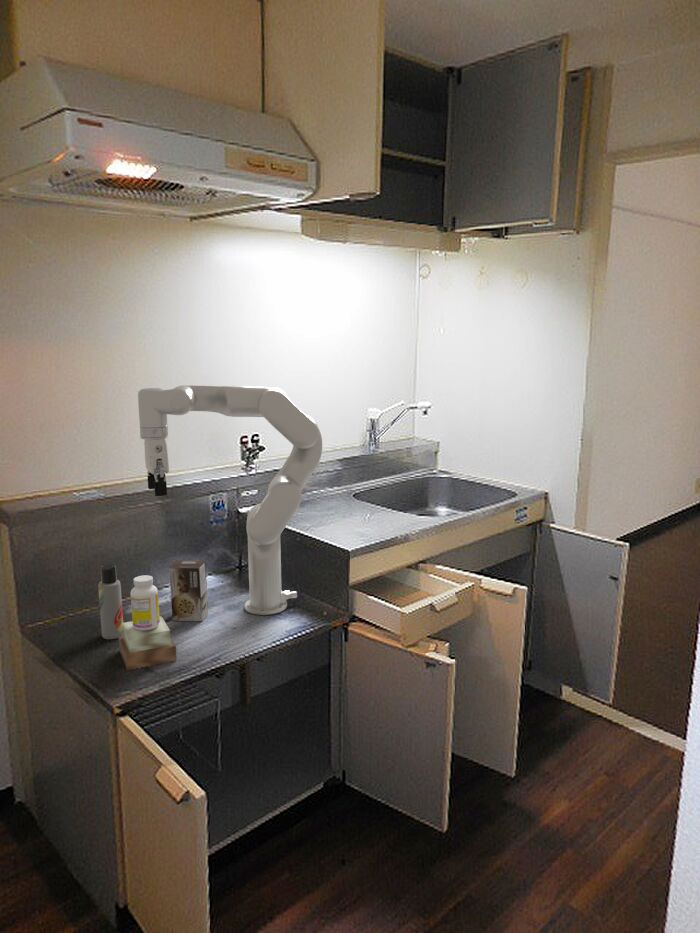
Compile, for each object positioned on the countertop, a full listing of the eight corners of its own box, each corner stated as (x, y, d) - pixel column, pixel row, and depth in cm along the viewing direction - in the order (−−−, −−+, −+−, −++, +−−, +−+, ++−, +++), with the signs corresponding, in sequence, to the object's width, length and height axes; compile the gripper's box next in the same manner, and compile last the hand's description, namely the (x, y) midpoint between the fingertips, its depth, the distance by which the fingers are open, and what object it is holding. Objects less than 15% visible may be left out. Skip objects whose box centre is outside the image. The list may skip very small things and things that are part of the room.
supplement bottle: (149, 619, 188) (146, 571, 186) (165, 625, 184) (162, 577, 182) (127, 627, 183) (124, 578, 181) (142, 634, 179) (139, 584, 177)
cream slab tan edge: (166, 642, 193) (164, 614, 192) (176, 660, 183) (174, 630, 181) (119, 651, 188) (117, 622, 186) (127, 670, 177) (125, 640, 176)
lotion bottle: (128, 632, 200) (123, 562, 196) (116, 640, 194) (111, 569, 190) (110, 630, 201) (105, 561, 197) (97, 638, 196) (92, 567, 192)
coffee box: (209, 613, 213) (206, 560, 209) (202, 622, 206) (199, 568, 203) (178, 612, 213) (176, 559, 210) (171, 620, 207) (168, 567, 204)
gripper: (174, 435, 197) (177, 497, 200) (161, 427, 212) (164, 484, 216) (146, 437, 194) (150, 500, 197) (134, 429, 209) (138, 487, 212)
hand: (157, 492), depth 206 cm, fingers open, 9 cm apart
